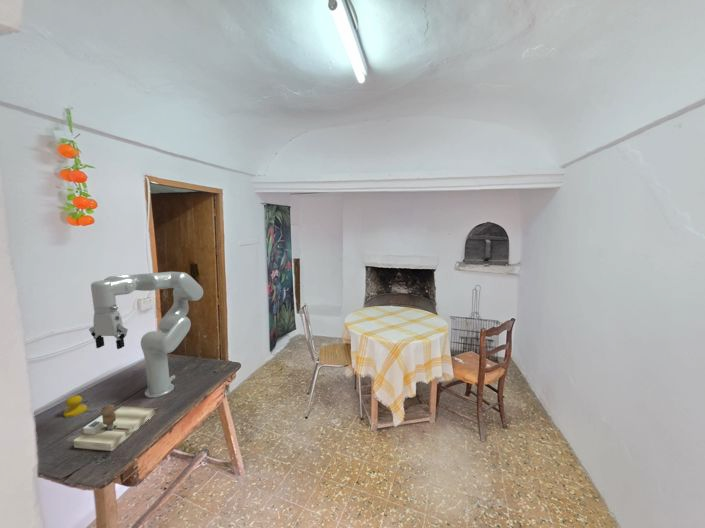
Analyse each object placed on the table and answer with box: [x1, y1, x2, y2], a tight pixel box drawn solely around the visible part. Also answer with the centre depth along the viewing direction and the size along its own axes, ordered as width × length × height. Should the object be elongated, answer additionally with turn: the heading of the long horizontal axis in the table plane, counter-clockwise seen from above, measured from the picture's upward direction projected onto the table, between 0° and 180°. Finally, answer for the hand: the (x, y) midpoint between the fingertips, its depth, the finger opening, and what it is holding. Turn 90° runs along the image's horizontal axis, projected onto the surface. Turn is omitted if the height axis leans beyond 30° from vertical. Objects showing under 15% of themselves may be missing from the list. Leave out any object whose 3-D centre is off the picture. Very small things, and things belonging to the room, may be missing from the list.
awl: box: [101, 404, 116, 431], centre depth 125 cm, size 4×4×12 cm
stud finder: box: [82, 414, 106, 434], centre depth 126 cm, size 8×4×2 cm, turn 173°
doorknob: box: [63, 394, 88, 418], centre depth 140 cm, size 8×8×8 cm
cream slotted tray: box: [72, 405, 156, 452], centre depth 129 cm, size 22×16×3 cm
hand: (110, 347), depth 134 cm, fingers open, 9 cm apart
